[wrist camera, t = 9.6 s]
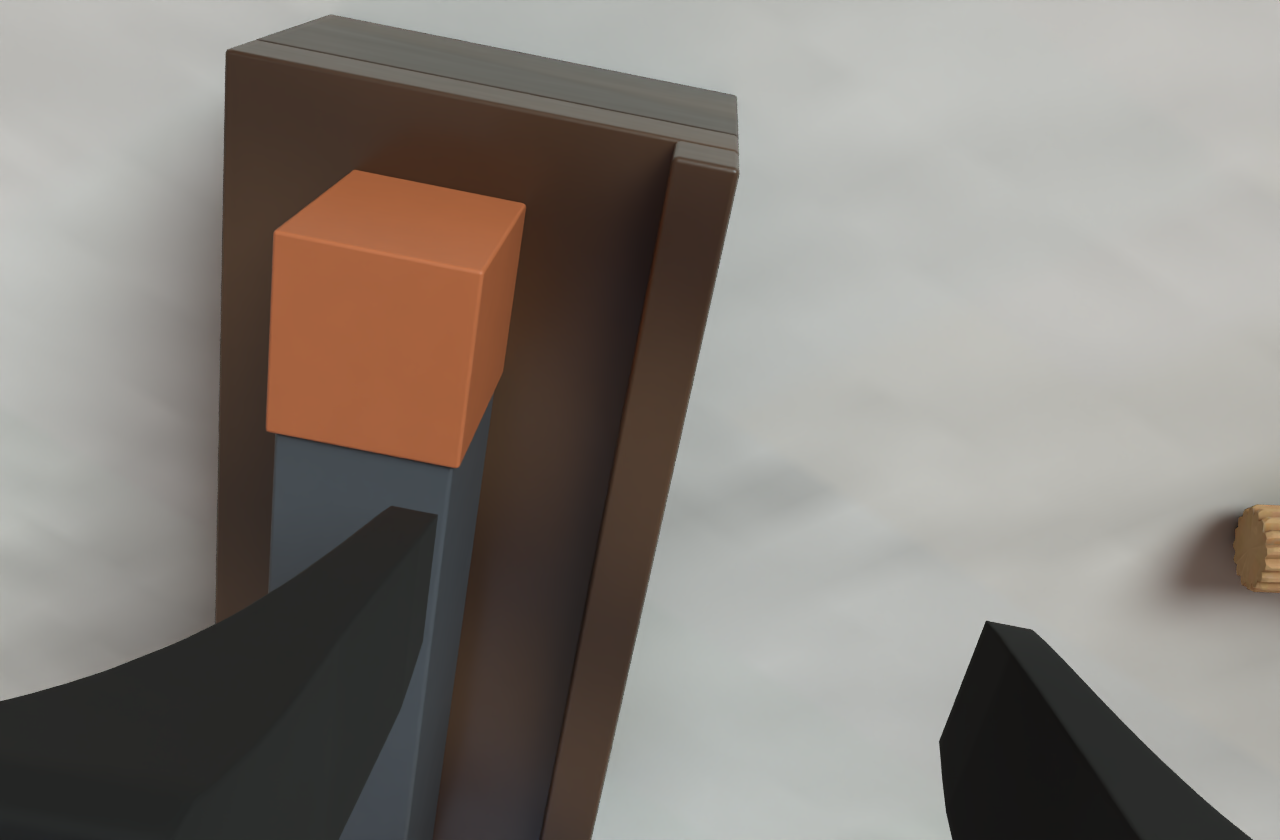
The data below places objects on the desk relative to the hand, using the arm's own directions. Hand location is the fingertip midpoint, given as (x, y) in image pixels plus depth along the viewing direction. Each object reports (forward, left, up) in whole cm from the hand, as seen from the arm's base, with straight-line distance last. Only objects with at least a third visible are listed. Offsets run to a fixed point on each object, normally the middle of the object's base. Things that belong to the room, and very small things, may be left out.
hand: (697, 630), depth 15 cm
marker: (-4, +5, -5) cm, 8 cm away
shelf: (-4, +5, -10) cm, 12 cm away
